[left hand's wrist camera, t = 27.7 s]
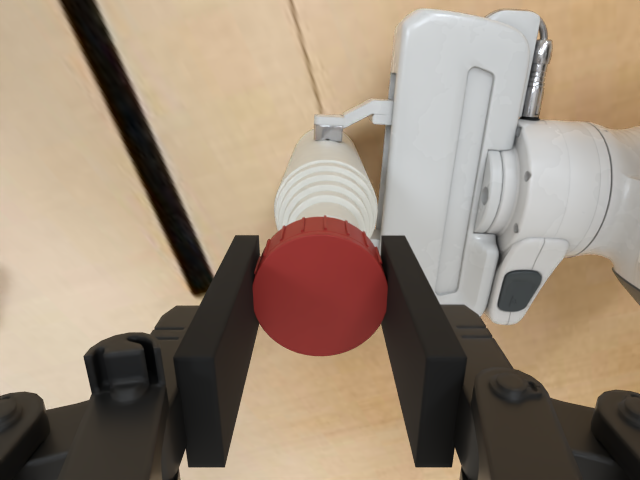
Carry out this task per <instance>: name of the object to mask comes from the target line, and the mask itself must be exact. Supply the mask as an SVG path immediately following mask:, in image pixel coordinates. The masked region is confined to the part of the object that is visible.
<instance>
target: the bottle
mask: <svg viewBox="0 0 640 480" xmlns="http://www.w3.org/2000/svg"><path fill="white" fill-rule="evenodd" d="M377 213H378V204H377V198H376V195H375V192H374V189H373V187H372V185H371V182H370V180H369V178H368V175H367V173H366V171H365V168H364V166H363V164H362V161H361V159H360V157H359V154H358V152H357V150H356V147H355V145H354V143H353V142H352V140H351V139H350V138H349V136H347V135H346V134H345V133H344V132H343V135H342V142H336V141H330V140H329V139H326V140H325V141H318V140H314V129H312V130H310V131H308V132H307V133H305V134H304V135H303V136H302V137H301V138H300V139H299V141H298V142H297V144H296V146H295V149H294V151H293V154H292V156H291V159H290V161H289V164H288V166H287V169H286V171H285V174H284V176H283V179H282V181H281V184H280V186H279V189H278V192H277V195H276V198H275V204H274V214H275V221H276V226H277V229H278V231H279V230H281V229H282V227H283V226H284V225H285V226H287V225H289V224H291V223H292V222H295V221H298V220H300V219H302V217H305V218H309V217H324V215H326V216H327V217H331V218H336V219H340V220H343V221H345V220H347V221H348V223H350V224H352V225H354V226H355V227H357V228H358V229H360V230H361V231H362V232H363V231H365V233H366V236H367V237H368V238H369V239H370V238H371V236H372V234H373V231H374V229H375V225H376V220H377Z"/></svg>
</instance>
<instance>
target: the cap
mask: <svg viewBox="0 0 640 480" xmlns="http://www.w3.org/2000/svg"><path fill="white" fill-rule="evenodd" d="M254 274H255V278H254V282H253V302H254V312H255V315H256V317H257V319H258V321H259V323H260V325H261V326H262V328H263V329H264V331H265V332H266V333H267V334H268V335H269V336H270V337H271V338H272V339H273V340H274V341H276V342H277V343H279V344H280V345H282V346H283V347H285V348H287V349H289V350H291V351H294V352H297V353H300V354H304V355H310V356H331V355H336V354H340V353H343V352H347V351H349V350H351V349H353V348H356V347H357V346H359V345H360V344H362V343H363V342H365V341H366V340H367V339H369V338H370V337H371V336H372V334H373V333H374V332H375V331H376V330H377V328H378V327H379V326H380V324H381V322H382V320H383V319H384V316H385V314H386V307H387V291H388V284H387V279H386V276H385V273H384V270H383V267H382V260H381V257H380V254H379V251H378V248H377V246H376V247H375V246H374V244H373V243H372V242H371V240H370V239H369V238H368V237H367V236H366V233H365V231H363V232H362V231H361V230H360V229H358V228H357V227H355V226H354V225H352V224H350V223H348V221H347V220H345V221H343V220H340V219H336V218H331V217H327V216H326V215H324V217H309V218H305V217H302V219H300V220H298V221H295V222H292V223H291V224H289V225H287V226H285V225H284V226H283V227H282V229H281V230H279V231H278V232H277V233H276V234H275V235H274V236H273V237H272V238H271V240H270V239H268V241H267V244H266V247H265V249H264V251H263V253H262V256H259V259H258V262H257V265H256V268H255V271H254Z"/></svg>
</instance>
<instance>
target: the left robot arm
mask: <svg viewBox="0 0 640 480" xmlns="http://www.w3.org/2000/svg"><path fill="white" fill-rule="evenodd" d="M259 256H260V249H259V235H235V237H234V239H233V241H232V243H231V245H230V247H229V249H228V251H227V253H226V255H225V257H224V259H223V261H222V263H221V265H220V267H219V269H218V271H217V272H216V274H215V276H214V278H213V280H212V282H211V284H210V286H209V288H208V290H207V292H206V294H205V296H204V298H203V300H202V302H201V304H200V306H175V307H174V308H173V309H171V310H170V311H168V312H167V313H165V314H164V315H163V316H162V317H161V318H160V320H159V322H158V323H157V325H156V326H155V330H153V331H152V332H151V334H146V333H143V332H142V333H125V334H120V335H115V336H112V337H110V338H107V339H105V340H102V341H100V342H99V343H97V344H96V345H94V346H93V347H91V348H90V349H89V350H88V352H87V353H86V354H85V355H84V361H85V365H86V370H87V374H88V378H89V383H90V387H91V392H92V395H91V397H90V400H88V401H84V402H81V403H77V404H73V405H68V406H63V407H59V408H54V409H49V410H46V409H45V405H44V402H43V399H42V398H41V397H40V396H38V395H37V394H35V393H29V392H17V393H9V394H5V395H2V396H0V480H180V473H179V466H180V463H181V460H182V457H183V454H184V452H185V449H186V454H187V461H188V467H225V464H226V460H227V456H228V452H229V447H230V443H231V439H232V435H233V431H234V427H235V422H236V418H237V414H238V410H239V406H240V402H241V397H242V393H243V389H244V385H245V381H246V376H247V372H248V368H249V364H250V360H251V356H252V351H253V347H254V343H255V339H256V335H257V331H258V326H259V321H258V319H257V317H256V315H255V312H254V302H253V282H254V278H255V274H254V271H255V268H256V265H257V262H258V259H259ZM380 257H381V260H382V267H383V270H384V273H385V276H386V279H387V284H388V291H387V307H386V314H385V316H384V319H383V320H382V322H381V325H382V329H383V334H384V338H385V342H386V346H387V350H388V354H389V359H390V363H391V367H392V371H393V375H394V379H395V384H396V388H397V392H398V396H399V400H400V405H401V409H402V413H403V417H404V421H405V425H406V430H407V434H408V438H409V442H410V446H411V450H412V455H413V459H414V463H415V467H452V463H453V456H454V449H456V451H457V454H458V457H459V460H460V463H461V465H462V467H461V473H460V480H640V394H638V393H635V392H632V391H623V390H612V391H607V392H604V393H603V394H602V395H600V396H599V397H598V399H597V403H596V407H595V408H590V407H586V406H581V405H576V404H572V403H567V402H563V401H559V400H556V399H552V398H550V397H549V394H548V392H547V391H546V389H545V388H544V387H543V385H542V384H541V383H540V382H538V381H537V380H536V379H534V378H533V377H532V376H530V375H528V374H525V373H523V372H521V371H519V370H515V369H513V367H512V366H511V364H510V363H509V361H508V359H507V358H506V356H505V355H504V353H503V352H502V350H501V349H500V347H499V346H498V344H497V342H496V341H495V339H494V338H492V335H491V333H490V332H489V330H488V329H487V328H486V325H485V324H484V322H483V321H482V319H481V318H480V316H479V315H478V314H477V313H476V312H474V311H473V310H471V309H470V308H469V307H467V306H466V305H464V304H440V303H439V301H438V299H437V297H436V295H435V293H434V291H433V289H432V288H431V286H430V284H429V282H428V280H427V278H426V276H425V274H424V272H423V270H422V268H421V266H420V264H419V262H418V260H417V258H416V256H415V254H414V252H413V250H412V248H411V246H410V245H409V243H408V241H407V239H406V237H405V235H382V236H381V255H380Z"/></svg>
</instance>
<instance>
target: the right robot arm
mask: <svg viewBox="0 0 640 480" xmlns="http://www.w3.org/2000/svg"><path fill="white" fill-rule="evenodd" d="M538 30H539V33H540V40H537V36H538ZM552 49H553V41H552V40H548V33H547V28H546V25H545V23H544V21H543V20H542V18H541V17H540V16H539V15H538V14H536V13H534V12H533V11H529V10H520V9H499V10H495V11H493V12H491V13H489V14H488V15H486V16H485V17H480V16H475V15H470V14H465V13H460V12H454V11H447V10H438V9H426V8H422V9H417V10H414V11H412V12H411V13H409V14H408V15H407V16H405V17H404V18H403V19H402V20H401V21H400V22H399V23H398V24H397V26H396V27H395V31H394V40H393V51H392V61H391V72H390V82H389V93H388V99H368V100H366V101H364V102H363V103H361V104H359V105H357V106H355V107H353V108H351V109H350V110H348V111H346V112H344V113H343V115H331V114H315V115H314V140H318V141H325V140H326V139H329V140H330V141H336V142H342V135H343V128H346V127H348V126H350V125H352V124H354V123H356V122H358V121H360V120H361V119H363V118H365V117H367V116H369V119H370V121H371V122H372V123H373V124H381V125H385V135H384V146H383V156H382V167H381V177H380V188H379V199H378V213H377V220H376V229H374V231H373V234H372V236H371V238H370V240H371V242H372V243H373V244H374V246H375V247H376V246H377V248H378V251H379V254H380V255H381V236H382V235H405V237H406V239H407V241H408V243H409V245H410V246H411V248H412V250H413V252H414V254H415V256H416V258H417V260H418V262H419V264H420V266H421V268H422V270H423V272H424V274H425V276H426V278H427V280H428V282H429V284H430V286H431V288H432V289H433V291H434V293H435V295H436V297H437V299H438V301H439V303H440V304H464V305H466V306H467V307H469V308H470V309H471V310H473V311H474V312H476V313H477V314H478V315H479V316H480V317H481V316H482V314H483V313H485V314H486V316H487V317H488V318H489V319H490V320H491V321H492V322H494V323H496V324H500V325H513V324H516V323H518V322H519V321H520V320H521V319H522V318H523V317H524V315H525V314H526V312H527V310H528V309H529V307H530V305H531V304H532V302H533V300H534V299H535V297H536V296H537V294H538V293H539V291H540V289H541V288H542V286H543V285H544V283H545V282H546V281H547V279H548V278H549V276H550V275H551V274H552V272H553V271H554V270H555V268H556V267H557V266H558V265H559V263H560V262H561V261H562V260H563V258H568V257H574V256H580V255H599V256H602V257H605V258H607V259H609V260H610V261H611V262H612V263H613V266H614V267H613V268H612V270H613V272H614V274H615V275H616V277H617V278H618V280H619V281H620V282H621V284H622V285H623V286H624V287H625V289H626V290H627V291H628V292H629V293H630V295H631V296H632V297H633V298H634V299H635V300H636V302H637V303H638V304H639V305H640V126H635V127H631V128H627V129H620V130H618V129H610V128H607V127H604V126H602V125H599V124H596V123H592V122H584V121H562V120H544V119H539V113H540V109H541V103H542V98H543V93H544V85H545V83H544V82H545V76H546V73H545V72H546V71H547V66H548V64H549V63H550V60H551V56H552ZM519 117H520V119H519Z"/></svg>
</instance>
